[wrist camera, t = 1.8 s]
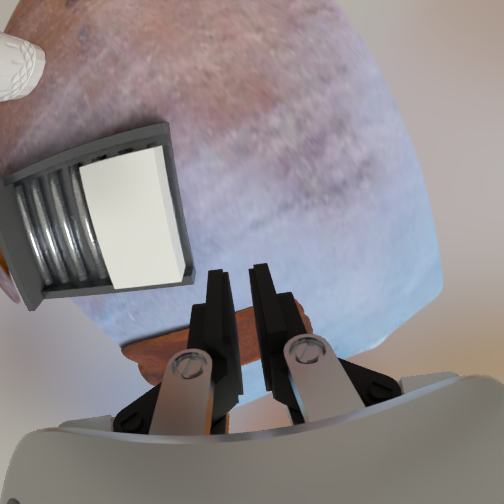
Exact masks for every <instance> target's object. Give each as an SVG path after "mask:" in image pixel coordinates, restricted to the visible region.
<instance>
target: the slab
mask: <svg viewBox="0 0 504 504" xmlns="http://www.w3.org/2000/svg"><path fill="white" fill-rule="evenodd" d="M79 169H80V174H81V179H82V183H83V188H84V192H85V196H86V200H87V204H88V208H89V212H90V216H91V219H92V223H93V226H94V230H95V233H96V236H97V240H98V243H99V246H100V249H101V252H102V255H103V258H104V261H105V264H106V267H107V270H108V273H109V275H110V278H111V281H112V283H113V286H114V289H122V288H131V287H140V286H149V285H158V284H167V283H175V282H182V278H183V274H184V270H185V262H184V258H183V253H182V249H181V244H180V240H179V235H178V231H177V226H176V221H175V216H174V211H173V206H172V201H171V196H170V190H169V185H168V179H167V173H166V168H165V161H164V155H163V149H162V145H161V146H156V147H152V148H147V149H143V150H139V151H134V152H130V153H126V154H122V155H118V156H115V157H111V158H107V159H104V160H100V161H97V162H93V163H91V164H88V165H85V166H82V167H80V168H79Z"/></svg>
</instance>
